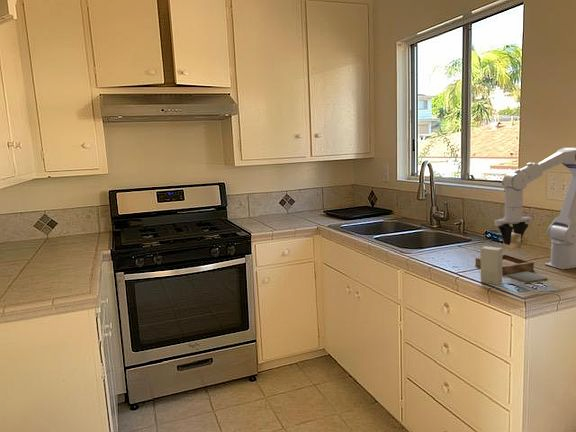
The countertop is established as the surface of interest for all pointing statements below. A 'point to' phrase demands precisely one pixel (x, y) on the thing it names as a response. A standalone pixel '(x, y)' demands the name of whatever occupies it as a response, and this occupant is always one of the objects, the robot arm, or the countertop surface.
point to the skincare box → (491, 265)
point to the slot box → (512, 264)
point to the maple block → (514, 241)
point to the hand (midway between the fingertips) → (512, 243)
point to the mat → (526, 277)
